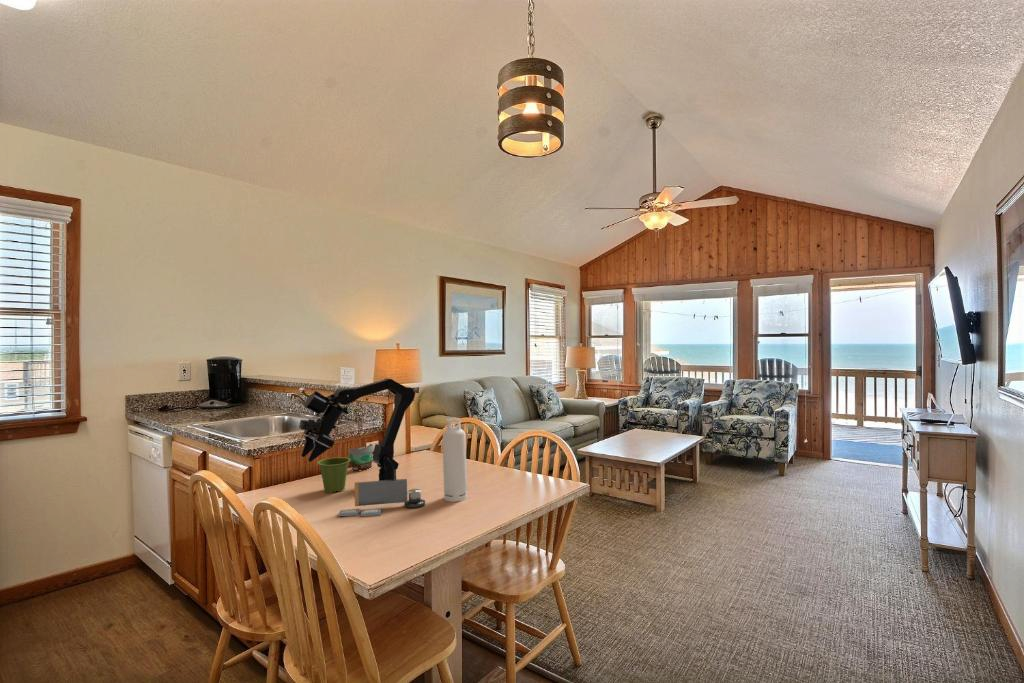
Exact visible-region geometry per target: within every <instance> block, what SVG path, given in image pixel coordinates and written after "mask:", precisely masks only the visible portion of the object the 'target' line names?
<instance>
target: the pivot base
mask: <svg viewBox="0 0 1024 683" xmlns="http://www.w3.org/2000/svg"><path fill="white" fill-rule="evenodd" d="M403 503H404V508H405V509H410V510H411V509H415V510H416V509H419V508H423V507H425V506H426V500H425V499H423V498H421V501H420V502H418V503H409V499H407V502H403Z"/></svg>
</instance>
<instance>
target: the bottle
mask: <svg viewBox="0 0 1024 683" xmlns="http://www.w3.org/2000/svg"><path fill="white" fill-rule="evenodd" d="M461 422H462V421H461V418H457V417H456V418H454V417H453V418H447V419H446V429H445V430H444V432H443V433H442V460H443V461H442V463H443V464H442V465H443V468H442V469H443V470H442V471H443V493H444V494H443V500H445V501H446V502H454V503H456V502H462V501H463V502H464V500H466V499H467V498H468V492H467V490H468V484H467V483H468V482H467V449H466V448H467V443H466V441H467V440H466V439H467V438H466V436H467V435H466V432H465V430H464V429H462V426H461V424H462V423H461ZM451 423H452V425H451ZM456 423H457V425H456Z"/></svg>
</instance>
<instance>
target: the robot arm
mask: <svg viewBox="0 0 1024 683" xmlns="http://www.w3.org/2000/svg"><path fill="white" fill-rule="evenodd" d="M386 390H388V391H389V392H390V393H392V394H393V395H394V397H393V402H394V403H393V404H394V407H393V410H392V413H391V416H390V418H389V421H388V424H387V427H386V430H385V432H384V435H383V438H382V440H381V442H380V443H379V444H377V443H376V444H375V445H374V450H373V452H372V462H374V463H375V464H377V467H378V468H379V469H378V470H379V471H378V472H379V473H378V481H383V480H397V470H398V469H399V465H400V463H399V462H398V461H396V460H395V459H394V454H395V448H394V447H395V446H394V445H395V442H396V439H397V436H398V433H399V430H400V427H401V424H402V422H403V419H404V416H405V414H406V411H407V409H408V408H409V407H410V406H411V405H412V403H413V401H414V399H415V397H416V391H415V390H414V389H413V388H412V387H408V386H405V385H403V384H401V383H399V382H397V381H395V380H394V379H393V378H389V377H386V378H384V379H382V380H379V381H375V382H371V383H367V384H363V385H360V386H354V387H343V388H337V389H336V390H335V391H334V393H332V394H330V395H328V396H325V395H323V394H322V393H320V392H318V391H317V390H314V391H313V393H311V394H310V395H309V397H307V398H306V400H305V402H304V404H303V407H304V408H306V409H308V410H309V411H311V412H314V413H315V414H317V415H320V414H322V415H321V417H319V418H317V419H316V420H315V419H310V418H308V420H307V419H300V421H299V426H298V429H300V430H302V431H303V438H304V445H303V448H302V451H301V455H300V456H301V457H302V458H305V457H306V456H307V455H308V454H309V453H310V455H309V457H308V459H307V461H308V462H310V463H312V461H314V460H315V459H317V458H318V457H319V456H320V455H322V454H323V453H325V452H326V451H327V450H329V449H330V448H333V447H334V445H335V440H334V439H333V438H332V437H331V436H330V435H331V433H332V432H333V430H335V429H336V428H337V425H336V424H337V423H338V421H339V419H340V417H341V416H342V414H345V415H349V411H348V407H347V406H346V405H350V404H352V403H353V402H356V401H357V400H359V399H360V398H362V397H366V396H369V395H373V394H376V393H379V392H383V391H386ZM331 403H332V404H331ZM341 405H343V406H341Z"/></svg>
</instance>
